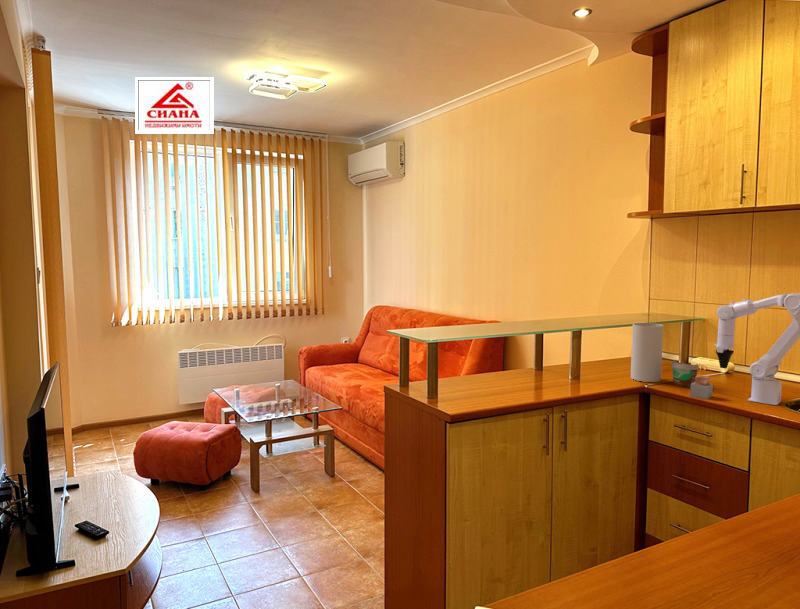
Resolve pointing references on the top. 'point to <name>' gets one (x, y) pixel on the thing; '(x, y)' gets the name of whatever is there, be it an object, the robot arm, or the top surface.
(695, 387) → the socket base
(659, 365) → the cylinder vase
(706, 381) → the terracotta cube
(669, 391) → the top surface
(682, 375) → the food container
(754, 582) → the top surface
